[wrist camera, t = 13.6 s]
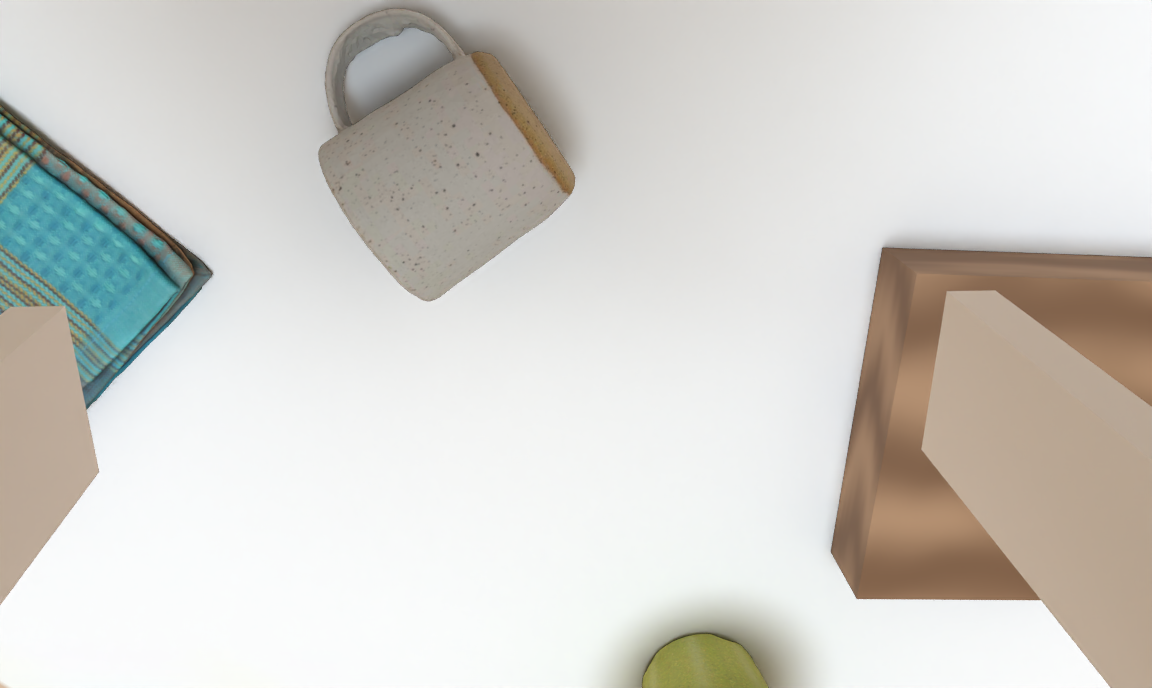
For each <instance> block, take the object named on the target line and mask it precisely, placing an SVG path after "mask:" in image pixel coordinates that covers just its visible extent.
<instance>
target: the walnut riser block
mask: <svg viewBox="0 0 1152 688" xmlns="http://www.w3.org/2000/svg"><path fill="white" fill-rule="evenodd" d="M991 290H995V291H997V292H998V293H999V294H1001V295H1002V296H1003V297H1005V298H1006V299H1007V300H1009V301H1010V302H1012V303H1013V304H1014V305H1016V306H1017V307H1018V308H1020V309H1021V310H1022V311H1024V312H1025V313H1026V314H1028V315H1029V316H1030V317H1032V318H1033V319H1034V320H1036V321H1037V322H1038V323H1040V324H1041V325H1042V326H1044V327H1045V328H1046V329H1048V330H1049V331H1051V332H1052V333H1053V334H1055V335H1056V336H1057V337H1059V338H1060V339H1061V340H1063V341H1064V342H1065V343H1067V344H1068V345H1069V346H1071V347H1072V348H1073V349H1075V350H1076V351H1077V352H1079V353H1080V354H1081V355H1083V356H1084V357H1085V358H1087V359H1088V360H1089V361H1091V362H1092V363H1094V364H1095V365H1096V366H1098V367H1099V368H1100V369H1102V370H1103V371H1104V372H1106V373H1107V374H1108V375H1110V376H1111V377H1112V378H1114V379H1115V380H1116V381H1118V382H1119V383H1120V384H1122V385H1123V386H1124V387H1126V388H1127V389H1128V390H1130V391H1131V392H1132V393H1134V394H1135V395H1137V396H1138V397H1139V398H1141V399H1142V400H1143V401H1145V402H1146V403H1147V404H1149V405H1150V406H1151V407H1152V258H1150V257H1123V256H1096V255H1068V254H1041V253H1013V252H986V251H958V250H931V249H903V248H882V254H881V260H880V266H879V272H878V278H877V284H876V290H875V295H874V301H873V307H872V313H871V319H870V325H869V331H868V337H867V343H866V348H865V354H864V360H863V366H862V372H861V378H860V384H859V390H858V395H857V401H856V407H855V413H854V419H853V425H852V431H851V437H850V443H849V448H848V454H847V460H846V466H845V472H844V478H843V484H842V490H841V496H840V501H839V507H838V513H837V519H836V525H835V531H834V537H833V543H832V548H831V553H832V555H833V557H834V559H835V560H836V562H837V564H838V566H839V568H840V569H841V571H842V573H843V575H844V577H845V578H846V580H847V582H848V584H849V586H850V587H851V589H852V591H853V593H854V595H855V596H856V598H857V599H943V600H1041V599H1040V598H1039V597H1038V596H1037V594H1036V593H1035V592H1034V591H1033V589H1032V588H1031V587H1030V586H1029V584H1028V583H1027V582H1026V580H1025V579H1024V578H1023V577H1022V575H1021V574H1020V573H1019V572H1018V570H1017V569H1016V568H1015V567H1014V565H1013V564H1012V563H1011V562H1010V560H1009V559H1008V558H1007V557H1006V555H1005V554H1004V553H1003V552H1002V550H1001V549H1000V548H999V547H998V545H997V544H996V543H995V541H994V540H993V539H992V538H991V536H990V535H989V534H988V533H987V531H986V530H985V529H984V528H983V526H982V525H981V524H980V523H979V521H978V520H977V519H976V518H975V516H974V515H973V514H972V513H971V511H970V510H969V509H968V508H967V506H966V505H965V504H964V503H963V501H962V500H961V499H960V497H959V496H958V495H957V494H956V492H955V491H954V490H953V489H952V487H951V486H950V485H949V484H948V482H947V481H946V480H945V479H944V477H943V476H942V475H941V474H940V472H939V471H938V470H937V469H936V467H935V466H934V465H933V464H932V462H931V461H930V460H929V458H928V457H927V456H926V455H925V453H924V452H923V451H922V450H921V449H922V442H923V436H924V430H925V424H926V417H927V411H928V405H929V399H930V393H931V386H932V380H933V374H934V368H935V361H936V355H937V349H938V343H939V337H940V330H941V324H942V318H943V312H944V305H945V299H946V293H947V291H991Z"/></svg>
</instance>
